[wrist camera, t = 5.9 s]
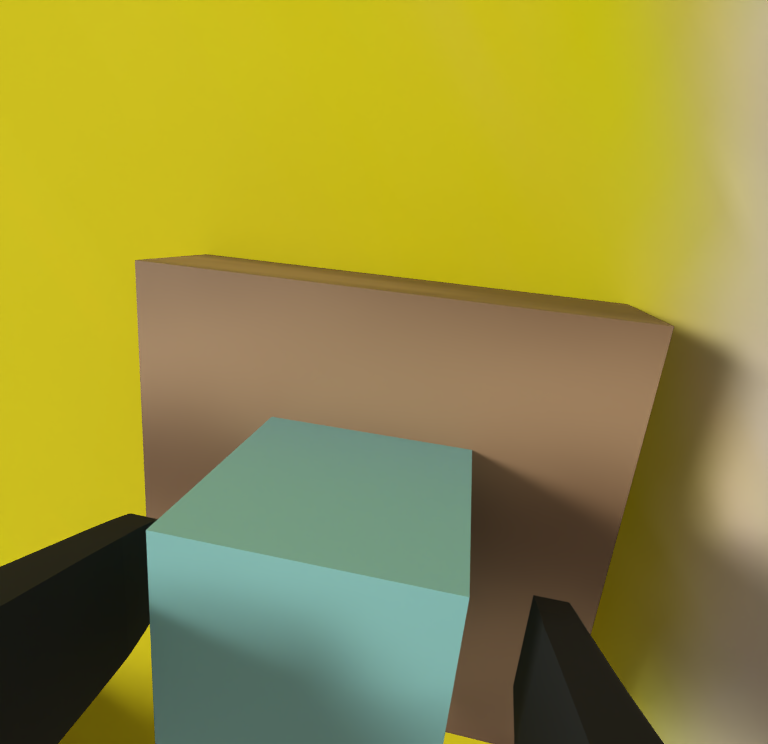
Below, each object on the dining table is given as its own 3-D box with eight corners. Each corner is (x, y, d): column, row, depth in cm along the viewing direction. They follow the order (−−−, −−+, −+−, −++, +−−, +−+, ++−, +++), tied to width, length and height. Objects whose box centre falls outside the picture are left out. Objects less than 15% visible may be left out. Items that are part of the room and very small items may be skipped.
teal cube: (443, 620, 12) (425, 839, 8) (265, 582, 12) (155, 763, 8) (471, 450, 11) (469, 597, 6) (271, 416, 11) (146, 529, 7)
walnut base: (541, 660, 15) (556, 759, 12) (207, 587, 17) (152, 659, 14) (627, 304, 12) (674, 326, 9) (206, 254, 14) (135, 260, 11)
